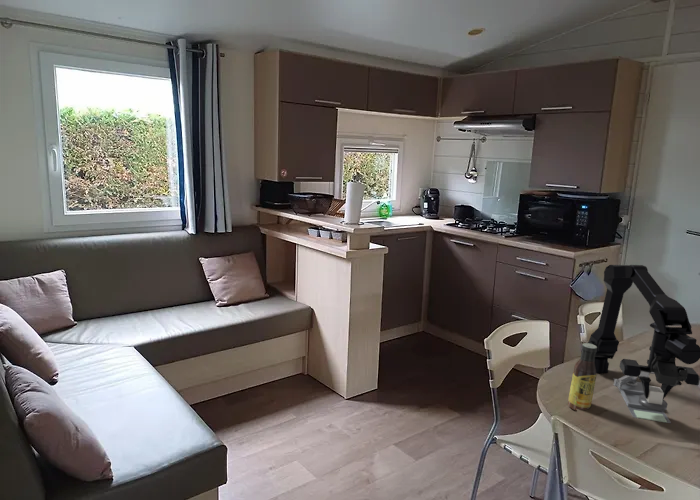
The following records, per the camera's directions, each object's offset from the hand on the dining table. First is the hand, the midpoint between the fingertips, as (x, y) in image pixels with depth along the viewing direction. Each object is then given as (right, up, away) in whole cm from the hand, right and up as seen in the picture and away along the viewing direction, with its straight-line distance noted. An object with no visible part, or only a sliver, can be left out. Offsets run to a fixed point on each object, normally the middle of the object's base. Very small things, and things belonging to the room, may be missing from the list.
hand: (653, 399), depth 146 cm
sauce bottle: (-18, -5, +7) cm, 20 cm away
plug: (0, -2, 0) cm, 2 cm away
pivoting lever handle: (+2, -1, +19) cm, 19 cm away
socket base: (+2, -4, +12) cm, 13 cm away
